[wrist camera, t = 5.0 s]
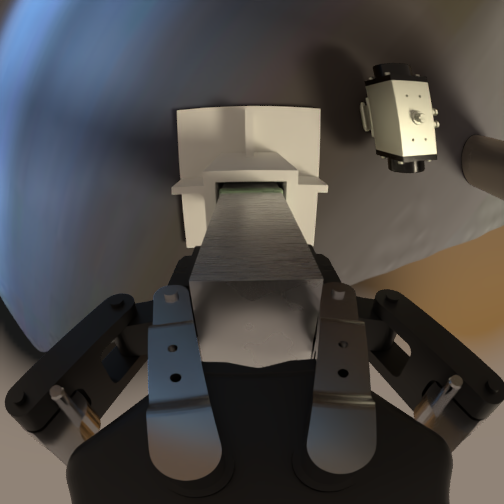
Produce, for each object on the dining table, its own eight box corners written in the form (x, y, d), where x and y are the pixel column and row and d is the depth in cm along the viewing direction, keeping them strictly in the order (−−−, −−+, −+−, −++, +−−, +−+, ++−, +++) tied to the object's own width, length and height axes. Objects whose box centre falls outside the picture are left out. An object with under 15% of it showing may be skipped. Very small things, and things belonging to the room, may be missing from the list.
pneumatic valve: (362, 160, 32) (409, 179, 22) (347, 76, 27) (392, 58, 17) (396, 156, 32) (449, 174, 21) (383, 76, 27) (436, 63, 16)
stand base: (317, 109, 30) (373, 99, 15) (311, 241, 37) (346, 314, 23) (179, 111, 29) (126, 101, 15) (189, 243, 37) (157, 317, 23)
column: (271, 170, 25) (327, 275, 8) (271, 212, 27) (310, 368, 10) (228, 170, 25) (184, 278, 8) (229, 212, 27) (202, 371, 10)
